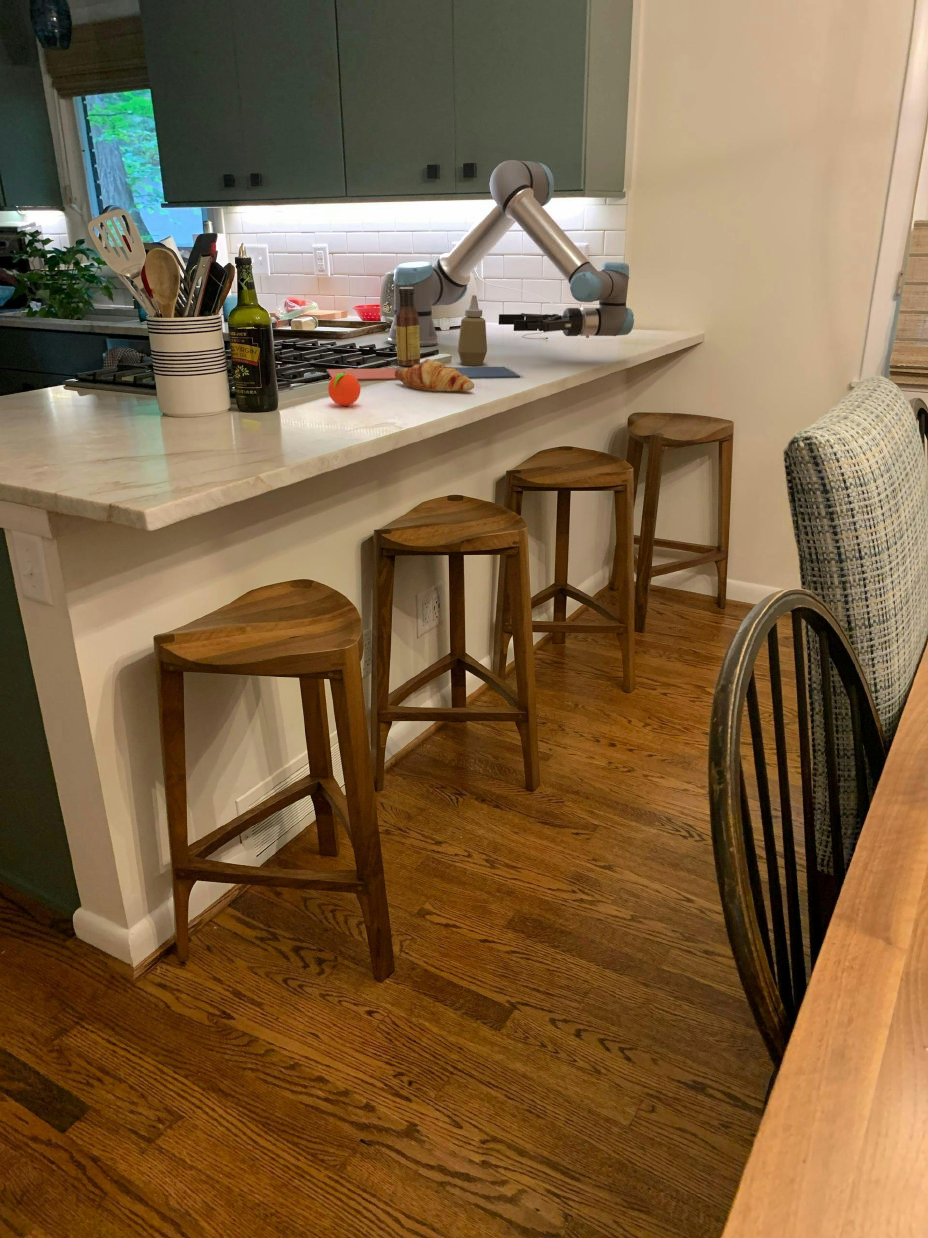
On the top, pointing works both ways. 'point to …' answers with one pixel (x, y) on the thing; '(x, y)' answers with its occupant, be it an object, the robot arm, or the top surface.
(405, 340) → the sauce bottle
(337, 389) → the clementine
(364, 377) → the terracotta mat
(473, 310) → the squeeze bottle
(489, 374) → the slate mat
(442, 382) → the croissant
